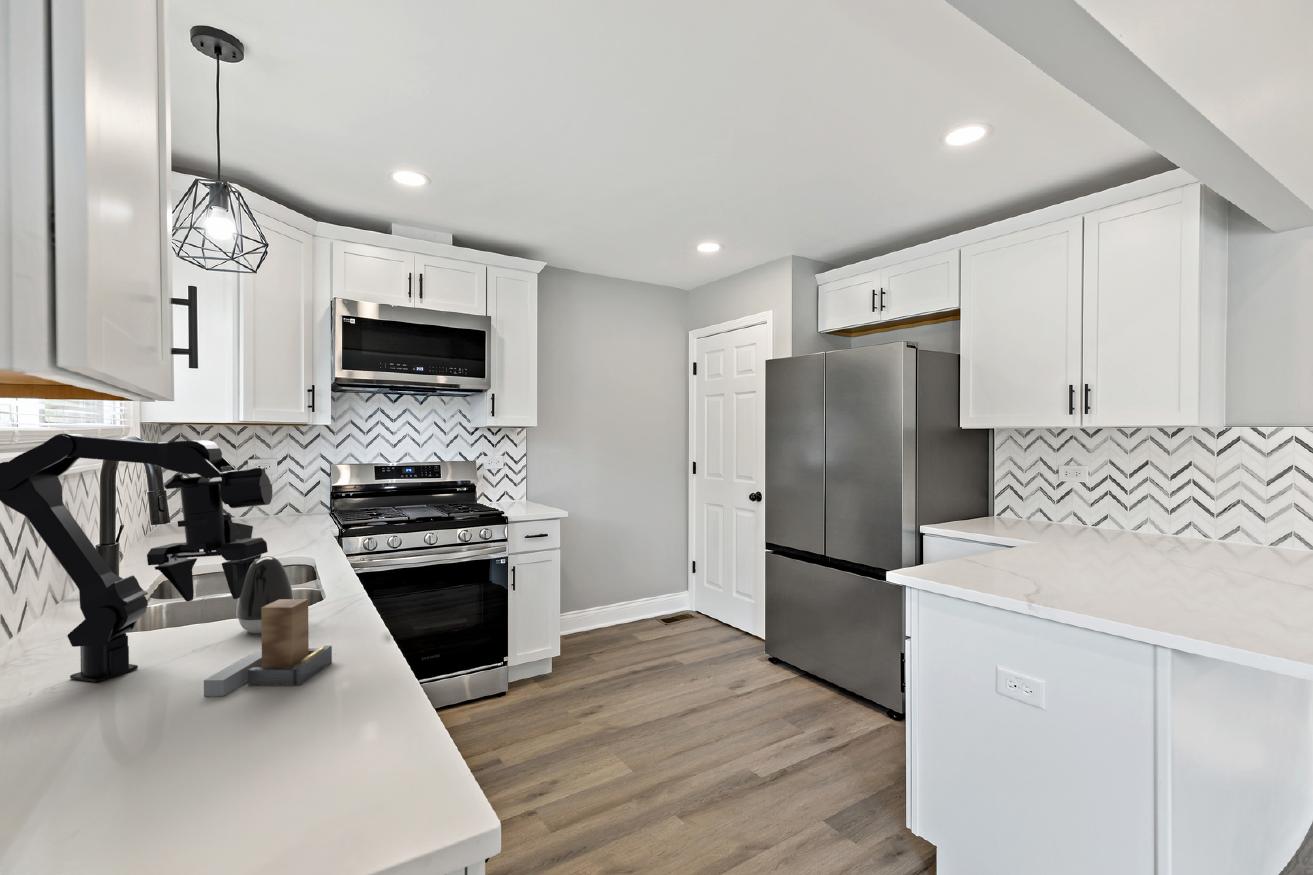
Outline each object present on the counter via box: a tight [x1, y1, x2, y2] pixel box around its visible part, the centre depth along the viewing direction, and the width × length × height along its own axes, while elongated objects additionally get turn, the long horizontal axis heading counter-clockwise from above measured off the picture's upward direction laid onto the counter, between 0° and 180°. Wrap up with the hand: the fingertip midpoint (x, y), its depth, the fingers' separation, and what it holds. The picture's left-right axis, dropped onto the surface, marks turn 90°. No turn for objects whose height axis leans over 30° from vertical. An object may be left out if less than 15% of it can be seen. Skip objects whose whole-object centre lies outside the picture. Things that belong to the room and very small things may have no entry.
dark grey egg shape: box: [235, 555, 295, 635], centre depth 129 cm, size 10×10×15 cm
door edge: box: [203, 647, 262, 697], centre depth 106 cm, size 3×18×2 cm, turn 1°
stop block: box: [261, 598, 310, 667], centre depth 106 cm, size 5×5×12 cm
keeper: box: [247, 645, 333, 686], centre depth 106 cm, size 8×10×3 cm
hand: (213, 599), depth 110 cm, fingers open, 9 cm apart
